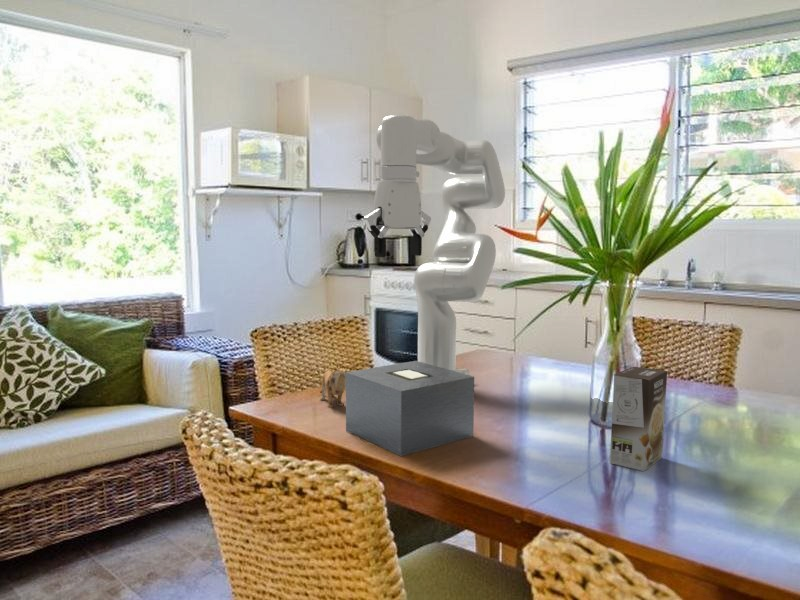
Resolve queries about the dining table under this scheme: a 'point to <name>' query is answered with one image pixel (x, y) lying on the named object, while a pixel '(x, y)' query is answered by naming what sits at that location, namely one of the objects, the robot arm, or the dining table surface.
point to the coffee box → (638, 417)
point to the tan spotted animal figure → (333, 385)
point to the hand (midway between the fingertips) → (398, 256)
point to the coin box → (409, 407)
